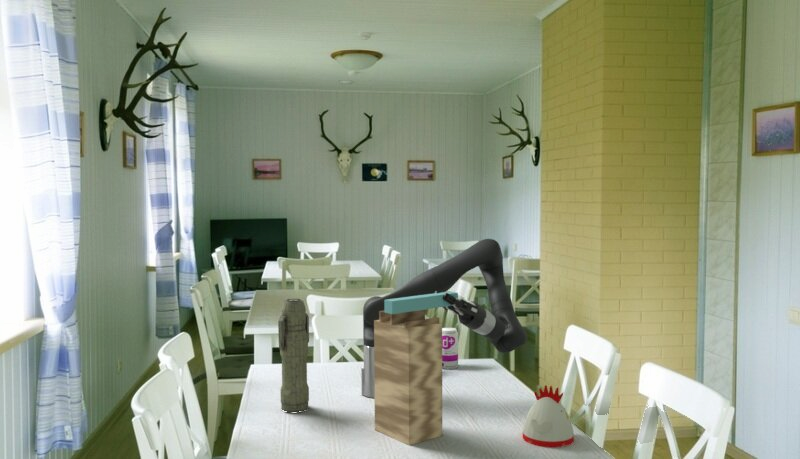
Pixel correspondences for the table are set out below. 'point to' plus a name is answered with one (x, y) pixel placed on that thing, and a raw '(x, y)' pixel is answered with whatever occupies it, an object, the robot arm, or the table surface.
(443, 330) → the supplement can
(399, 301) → the block
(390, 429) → the stand
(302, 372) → the stone statue
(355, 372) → the table surface
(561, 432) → the kitchen timer
